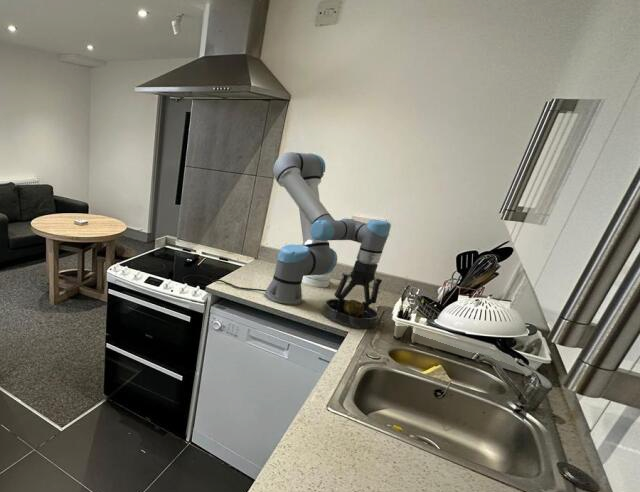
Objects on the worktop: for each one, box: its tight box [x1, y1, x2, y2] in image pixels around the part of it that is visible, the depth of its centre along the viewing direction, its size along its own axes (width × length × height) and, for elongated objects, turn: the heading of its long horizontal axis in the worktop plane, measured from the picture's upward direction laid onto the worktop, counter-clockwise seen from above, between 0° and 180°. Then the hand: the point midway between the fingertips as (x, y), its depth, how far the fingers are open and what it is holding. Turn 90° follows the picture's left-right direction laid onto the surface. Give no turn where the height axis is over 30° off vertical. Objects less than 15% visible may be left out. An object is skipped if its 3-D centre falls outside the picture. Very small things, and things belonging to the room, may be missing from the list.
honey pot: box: [301, 271, 332, 288], centre depth 193 cm, size 13×13×18 cm
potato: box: [342, 299, 364, 317], centre depth 156 cm, size 8×13×8 cm, turn 149°
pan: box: [322, 298, 380, 329], centre depth 157 cm, size 19×19×4 cm
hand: (348, 316), depth 158 cm, fingers closed on potato, 7 cm apart
